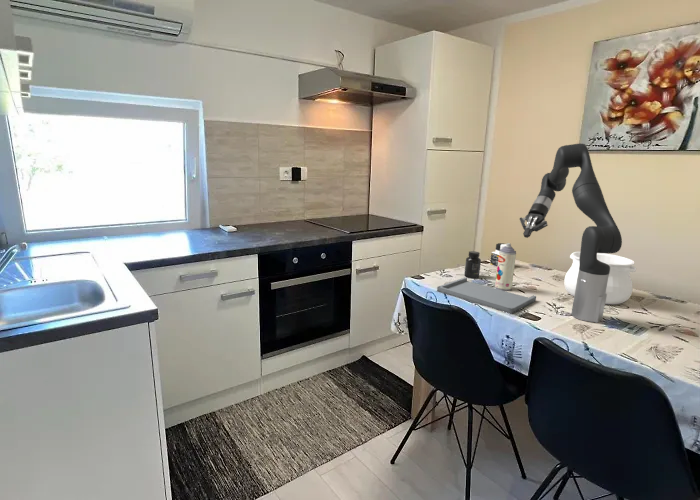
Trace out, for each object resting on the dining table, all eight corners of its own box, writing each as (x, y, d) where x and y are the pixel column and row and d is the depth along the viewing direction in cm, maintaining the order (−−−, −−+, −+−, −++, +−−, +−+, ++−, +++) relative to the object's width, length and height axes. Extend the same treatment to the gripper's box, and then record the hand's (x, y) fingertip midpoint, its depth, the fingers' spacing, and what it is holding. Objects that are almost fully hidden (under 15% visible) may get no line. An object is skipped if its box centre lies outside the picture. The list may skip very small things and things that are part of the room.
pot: (548, 290, 175) (554, 253, 171) (583, 284, 186) (590, 248, 182) (608, 310, 153) (616, 268, 149) (643, 302, 164) (652, 262, 160)
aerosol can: (492, 285, 178) (497, 241, 174) (506, 285, 179) (512, 242, 174) (499, 290, 172) (504, 245, 167) (514, 290, 172) (520, 245, 168)
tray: (535, 300, 161) (536, 296, 160) (511, 314, 146) (512, 308, 145) (464, 281, 183) (464, 277, 183) (436, 291, 168) (437, 286, 167)
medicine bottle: (489, 264, 215) (492, 242, 212) (499, 263, 218) (502, 242, 215) (499, 268, 208) (502, 245, 206) (509, 267, 211) (512, 244, 209)
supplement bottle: (480, 276, 192) (483, 252, 189) (476, 279, 187) (479, 254, 184) (466, 273, 196) (469, 249, 193) (462, 276, 190) (464, 252, 188)
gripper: (524, 200, 190) (509, 229, 184) (554, 204, 180) (539, 233, 175) (527, 211, 195) (513, 239, 189) (556, 214, 185) (542, 244, 180)
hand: (525, 236), depth 182 cm, fingers closed
